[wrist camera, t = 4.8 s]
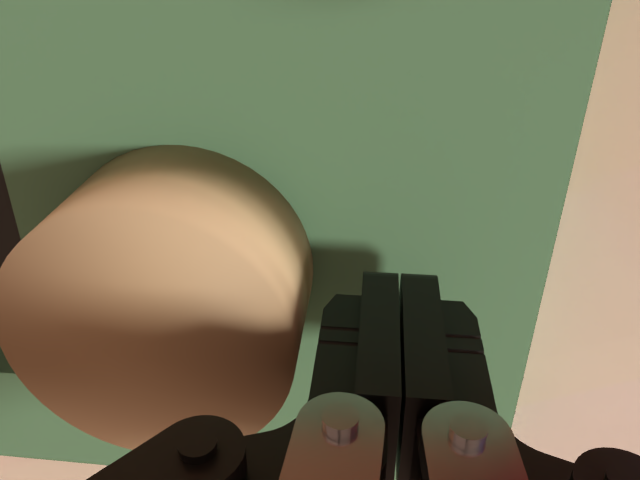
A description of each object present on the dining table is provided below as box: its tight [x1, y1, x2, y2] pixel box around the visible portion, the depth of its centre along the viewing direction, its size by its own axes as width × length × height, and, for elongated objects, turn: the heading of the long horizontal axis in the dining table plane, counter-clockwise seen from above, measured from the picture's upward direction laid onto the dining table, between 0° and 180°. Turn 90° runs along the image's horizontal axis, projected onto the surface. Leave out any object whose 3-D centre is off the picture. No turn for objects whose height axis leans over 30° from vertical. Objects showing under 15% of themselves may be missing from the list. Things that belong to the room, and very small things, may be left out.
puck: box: [0, 145, 313, 450], centre depth 12 cm, size 6×6×3 cm
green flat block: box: [0, 0, 612, 480], centre depth 13 cm, size 14×21×5 cm, turn 89°
